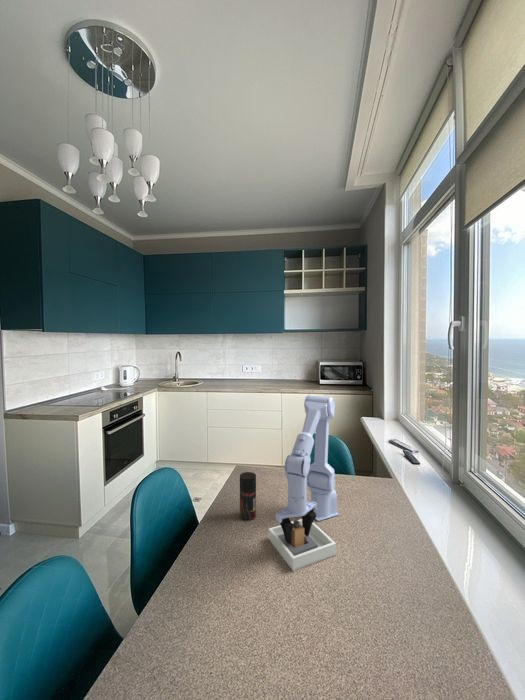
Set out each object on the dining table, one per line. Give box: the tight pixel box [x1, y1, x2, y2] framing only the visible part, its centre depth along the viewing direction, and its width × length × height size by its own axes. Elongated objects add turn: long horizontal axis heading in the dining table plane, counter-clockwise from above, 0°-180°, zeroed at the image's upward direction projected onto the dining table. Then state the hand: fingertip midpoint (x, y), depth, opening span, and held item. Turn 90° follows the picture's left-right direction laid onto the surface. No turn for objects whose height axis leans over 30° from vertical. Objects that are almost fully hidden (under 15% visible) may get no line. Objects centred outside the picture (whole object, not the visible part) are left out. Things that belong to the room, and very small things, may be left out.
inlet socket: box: [278, 534, 318, 556], centre depth 93 cm, size 9×9×2 cm
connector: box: [290, 519, 304, 548], centre depth 93 cm, size 4×4×8 cm
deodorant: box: [239, 471, 257, 522], centre depth 110 cm, size 6×6×15 cm
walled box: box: [268, 518, 337, 572], centre depth 93 cm, size 15×15×4 cm
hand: (297, 538), depth 92 cm, fingers open, 6 cm apart
